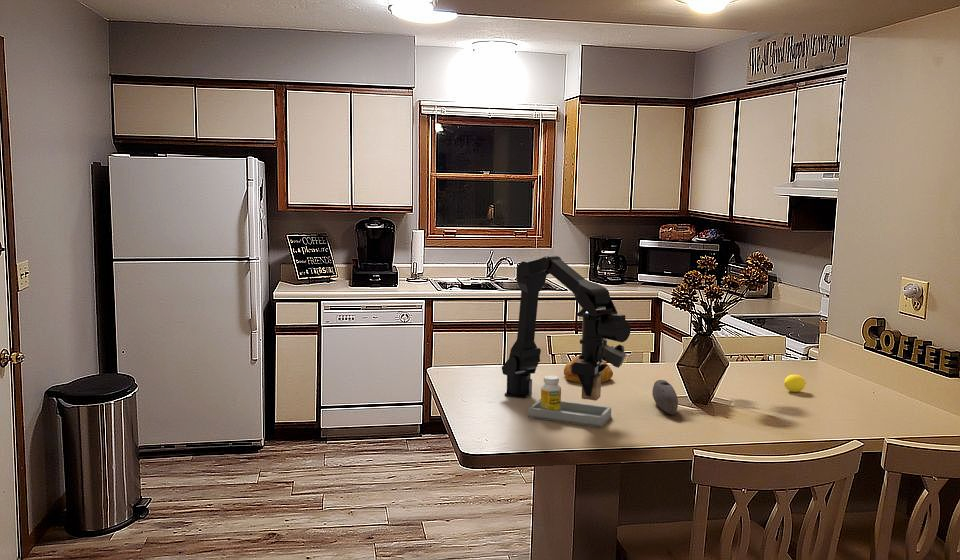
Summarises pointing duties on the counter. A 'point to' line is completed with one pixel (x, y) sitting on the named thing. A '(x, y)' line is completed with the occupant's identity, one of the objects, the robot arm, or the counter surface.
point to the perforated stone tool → (665, 396)
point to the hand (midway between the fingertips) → (590, 393)
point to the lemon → (794, 383)
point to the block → (594, 389)
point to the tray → (573, 413)
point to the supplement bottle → (551, 394)
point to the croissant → (605, 376)
